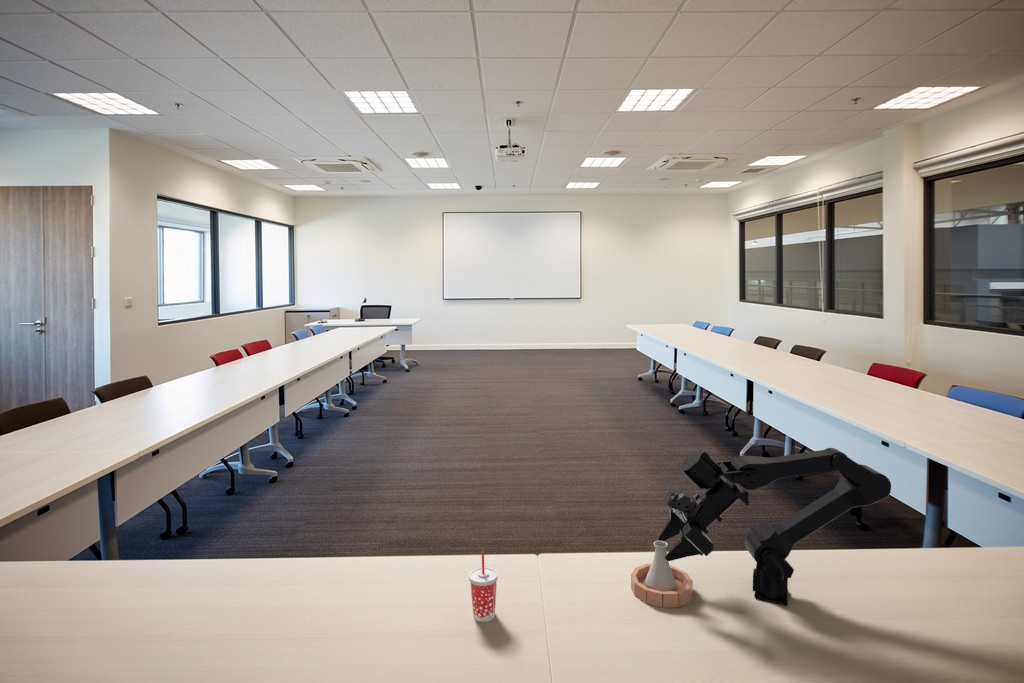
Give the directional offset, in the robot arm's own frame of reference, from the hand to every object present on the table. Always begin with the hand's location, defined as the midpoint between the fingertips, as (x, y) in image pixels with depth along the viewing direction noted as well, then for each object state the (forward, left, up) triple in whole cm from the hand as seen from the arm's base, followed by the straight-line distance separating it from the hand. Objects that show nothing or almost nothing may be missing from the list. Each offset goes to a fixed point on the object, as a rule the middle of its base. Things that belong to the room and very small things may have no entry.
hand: (662, 549), depth 119 cm
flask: (0, 0, -9) cm, 9 cm away
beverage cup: (+31, +26, -10) cm, 42 cm away
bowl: (0, 0, -10) cm, 10 cm away
